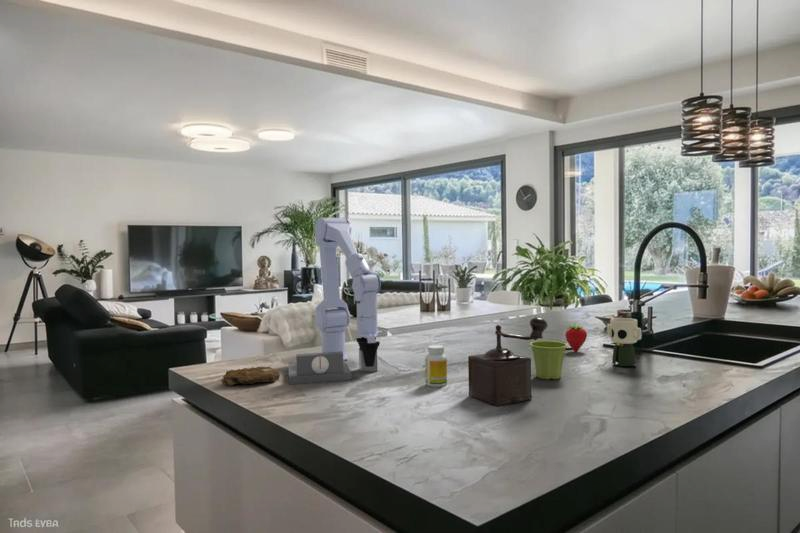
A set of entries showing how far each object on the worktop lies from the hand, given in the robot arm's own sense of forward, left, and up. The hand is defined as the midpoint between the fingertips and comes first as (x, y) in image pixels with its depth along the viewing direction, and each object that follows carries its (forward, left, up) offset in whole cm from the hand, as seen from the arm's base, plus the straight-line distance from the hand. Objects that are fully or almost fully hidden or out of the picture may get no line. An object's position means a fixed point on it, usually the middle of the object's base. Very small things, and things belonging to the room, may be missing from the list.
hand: (368, 364), depth 154 cm
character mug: (+16, +70, -2) cm, 72 cm away
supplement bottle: (+21, +14, -2) cm, 25 cm away
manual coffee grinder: (+36, +27, -2) cm, 45 cm away
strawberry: (-6, +68, -2) cm, 68 cm away
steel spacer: (0, 0, -2) cm, 2 cm away
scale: (+1, -14, -2) cm, 14 cm away
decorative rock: (+5, -32, -2) cm, 32 cm away
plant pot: (+22, +44, -2) cm, 49 cm away
